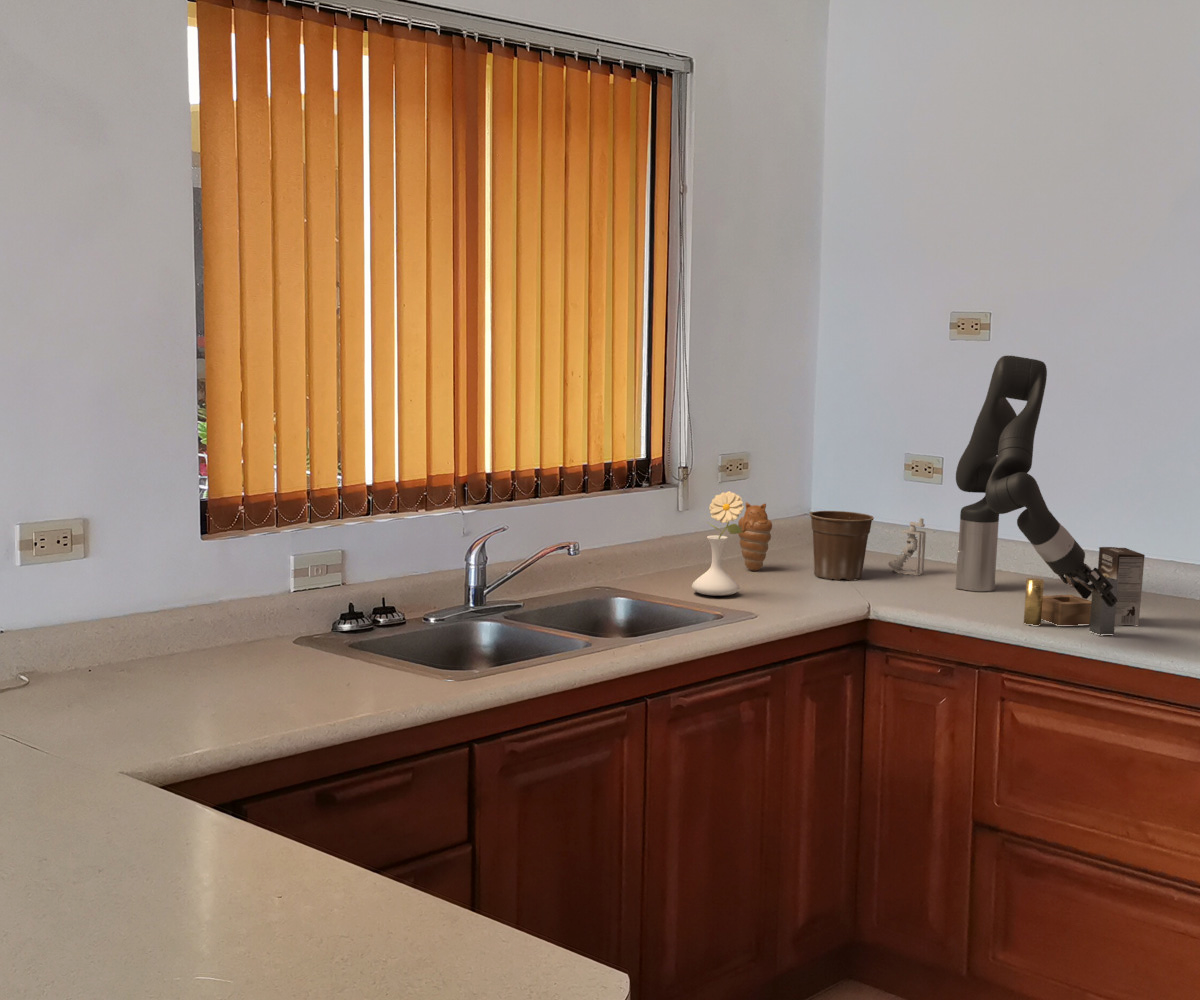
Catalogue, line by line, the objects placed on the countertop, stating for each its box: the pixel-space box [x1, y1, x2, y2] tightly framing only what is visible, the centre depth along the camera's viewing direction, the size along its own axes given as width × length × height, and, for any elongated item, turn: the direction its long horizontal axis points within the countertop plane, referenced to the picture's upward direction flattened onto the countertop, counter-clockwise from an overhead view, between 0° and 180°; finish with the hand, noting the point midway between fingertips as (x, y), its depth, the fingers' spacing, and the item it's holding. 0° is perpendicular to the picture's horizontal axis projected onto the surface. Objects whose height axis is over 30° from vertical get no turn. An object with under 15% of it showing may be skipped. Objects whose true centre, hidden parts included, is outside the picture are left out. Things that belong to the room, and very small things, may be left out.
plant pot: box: [809, 510, 875, 581], centre depth 339 cm, size 16×16×16 cm
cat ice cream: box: [737, 502, 773, 572], centre depth 344 cm, size 9×8×18 cm
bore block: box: [1041, 594, 1092, 625], centre depth 292 cm, size 9×9×5 cm
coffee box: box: [1097, 546, 1146, 625], centre depth 293 cm, size 9×6×16 cm
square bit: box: [1089, 577, 1118, 635], centre depth 280 cm, size 4×4×12 cm
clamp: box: [887, 517, 927, 576], centre depth 347 cm, size 4×10×15 cm, turn 54°
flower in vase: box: [691, 490, 745, 597], centre depth 311 cm, size 13×11×25 cm
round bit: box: [1023, 577, 1045, 625], centre depth 288 cm, size 4×4×10 cm
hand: (1100, 599), depth 279 cm, fingers open, 8 cm apart
